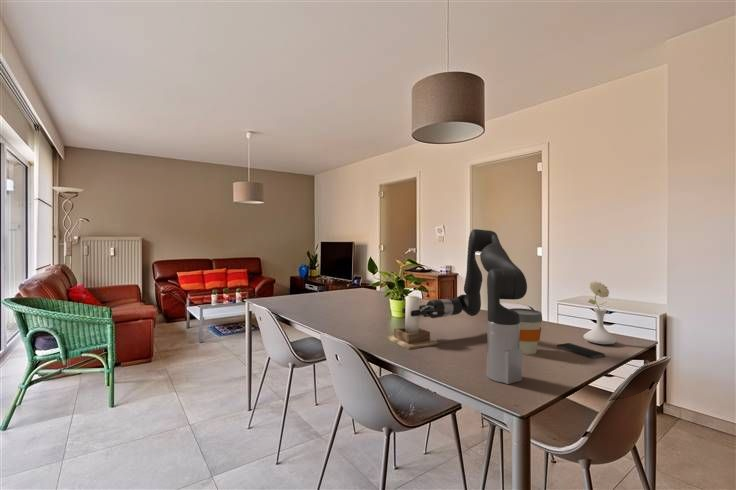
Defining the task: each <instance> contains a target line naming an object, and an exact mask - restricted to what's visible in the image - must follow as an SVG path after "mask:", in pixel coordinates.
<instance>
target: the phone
mask: <svg viewBox="0 0 736 490" xmlns="http://www.w3.org/2000/svg"><path fill="white" fill-rule="evenodd" d="M556 348H557V349H561V350H564V351H567V352H570V353H573V354H576V355H579V356H581V357H584V358H587V359H599V358H602V357H603V358H604V357H606V353H603V352H600V351H597V350H594V349H590V348H587V347H583V346H581V345H578V344H574V343H572V342H571V343H570V342H565V343H559V344H556Z"/></svg>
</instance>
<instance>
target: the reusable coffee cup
mask: <svg viewBox="0 0 736 490" xmlns="http://www.w3.org/2000/svg"><path fill="white" fill-rule="evenodd" d="M509 309H510V310H513V311H516V312H517V313H519V315H520V336H519V348H520V349H522V355H524V356H525V355H526V356H527V355H529V356H531V355H536V353H537V351H538V343H539V341H540V338H541V333H542V327H541V324H542V322H543V314H542V313H543V312H541V311H539V310H537V309H531V308H523V307H522V308H520V307H518V308H517V307H515V308H513V307H512V308H509Z"/></svg>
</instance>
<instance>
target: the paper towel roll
mask: <svg viewBox="0 0 736 490" xmlns="http://www.w3.org/2000/svg"><path fill="white" fill-rule="evenodd" d="M419 305H420V296H418V295H406V296H405V307H404V308H405V313H404V315H405V316H404V317H405V320H404V321H405V324H404V326H405V327H404V328H405V333H408V334H414V333H419V328H420V316H411V311H413V310H419Z"/></svg>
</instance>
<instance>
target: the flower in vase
mask: <svg viewBox="0 0 736 490" xmlns="http://www.w3.org/2000/svg"><path fill="white" fill-rule="evenodd" d="M589 289H590V291H591V292H592V293H593V294H594V299H593V298H590V299H589V300H588V301H587V302H588V303H589V304H592V305H596V307H594V308H593V309H592V310H593V311H594V312H595V315H596V325H595V327H594V328H592V329H591V330H588V331H587V332H586V333H584V334H583V338H584V339H585V340H586V341H588V342H591V343H593V344H599V345H612V344H615V343H617V339H616V337H615V336H614V335H613V334H612V333H611V332H609V331H608V330H607V329H606V328H605V327H604V319H605V315H606V313H607V311H608V309H606V308H602V307H601V308H600V306H602V305H604V304H607V301H605V302H602V303H600V304H598V303H597V296H598V297H599V298H601V299H602V298H608V297H609V295H610V291H609V289H608V286H606V285H605V284H603V283H602V282H601V281H599V282H598V280H594V281H593V282H590V283H589Z"/></svg>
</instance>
